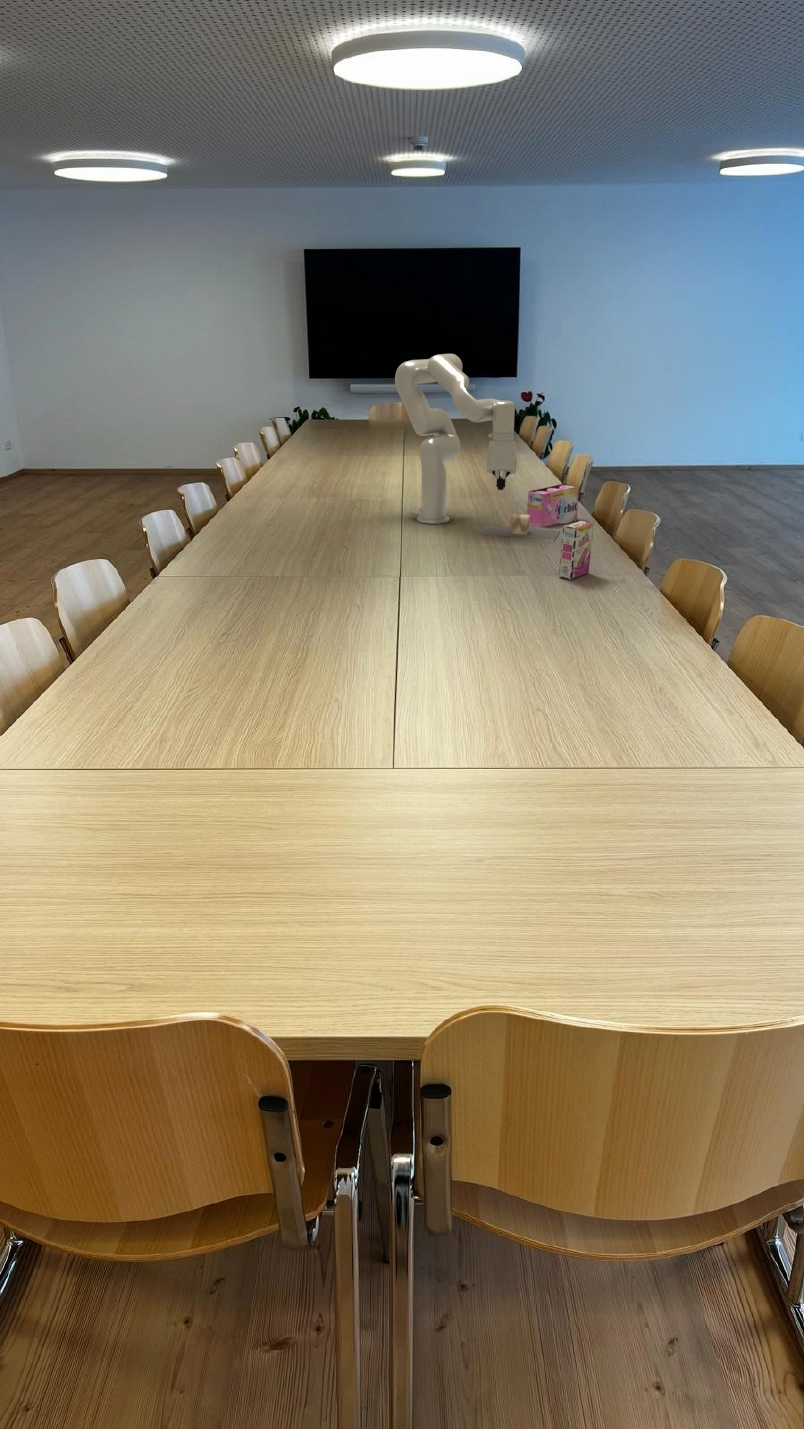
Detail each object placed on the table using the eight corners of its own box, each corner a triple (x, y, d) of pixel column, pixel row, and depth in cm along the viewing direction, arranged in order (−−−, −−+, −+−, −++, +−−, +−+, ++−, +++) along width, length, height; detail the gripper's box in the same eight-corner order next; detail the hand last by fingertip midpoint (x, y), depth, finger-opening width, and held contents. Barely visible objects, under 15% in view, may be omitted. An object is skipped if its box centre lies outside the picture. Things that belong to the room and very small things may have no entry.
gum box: (563, 517, 386) (565, 482, 380) (579, 520, 381) (582, 485, 375) (525, 526, 370) (527, 490, 365) (542, 530, 365) (544, 494, 360)
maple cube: (510, 517, 353) (527, 518, 351) (513, 513, 358) (529, 514, 357) (509, 533, 355) (526, 534, 354) (512, 529, 361) (528, 531, 359)
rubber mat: (477, 536, 355) (478, 533, 354) (485, 528, 367) (485, 525, 367) (554, 542, 348) (554, 539, 347) (560, 533, 360) (560, 530, 360)
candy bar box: (572, 580, 302) (576, 528, 296) (558, 577, 305) (562, 525, 299) (590, 573, 310) (594, 522, 304) (576, 570, 313) (580, 519, 307)
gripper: (479, 438, 344) (478, 490, 351) (521, 439, 340) (519, 492, 348) (484, 435, 351) (482, 486, 358) (525, 436, 347) (522, 488, 354)
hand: (500, 489), depth 353 cm, fingers closed
